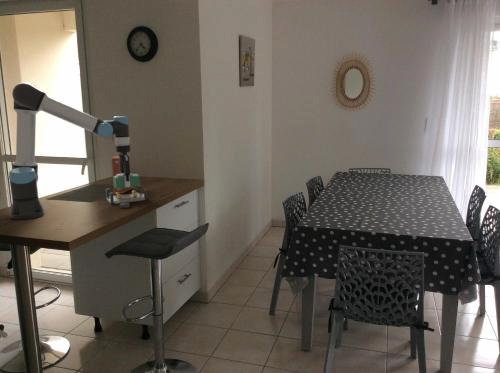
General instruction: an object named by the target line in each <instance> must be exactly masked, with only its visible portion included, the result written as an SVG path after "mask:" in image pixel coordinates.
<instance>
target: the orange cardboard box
mask: <svg viewBox="0 0 500 373" xmlns="http://www.w3.org/2000/svg"><path fill="white" fill-rule="evenodd" d="M127 155H128V157H129V158H130V154H127ZM129 165H130V166H131V164H130V161H129ZM111 171H112V177H113V176H116V174H121V171H120V160H119V155H117V156H113V157H111ZM127 173H128V172H127ZM112 181H113V180H112ZM112 183H113V194H116V193H117V192H119V194H125V193H126V192H128V191H130V190H132V187H128V188H120V189H116V188H115V187H114V181H113V182H112Z"/></svg>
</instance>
